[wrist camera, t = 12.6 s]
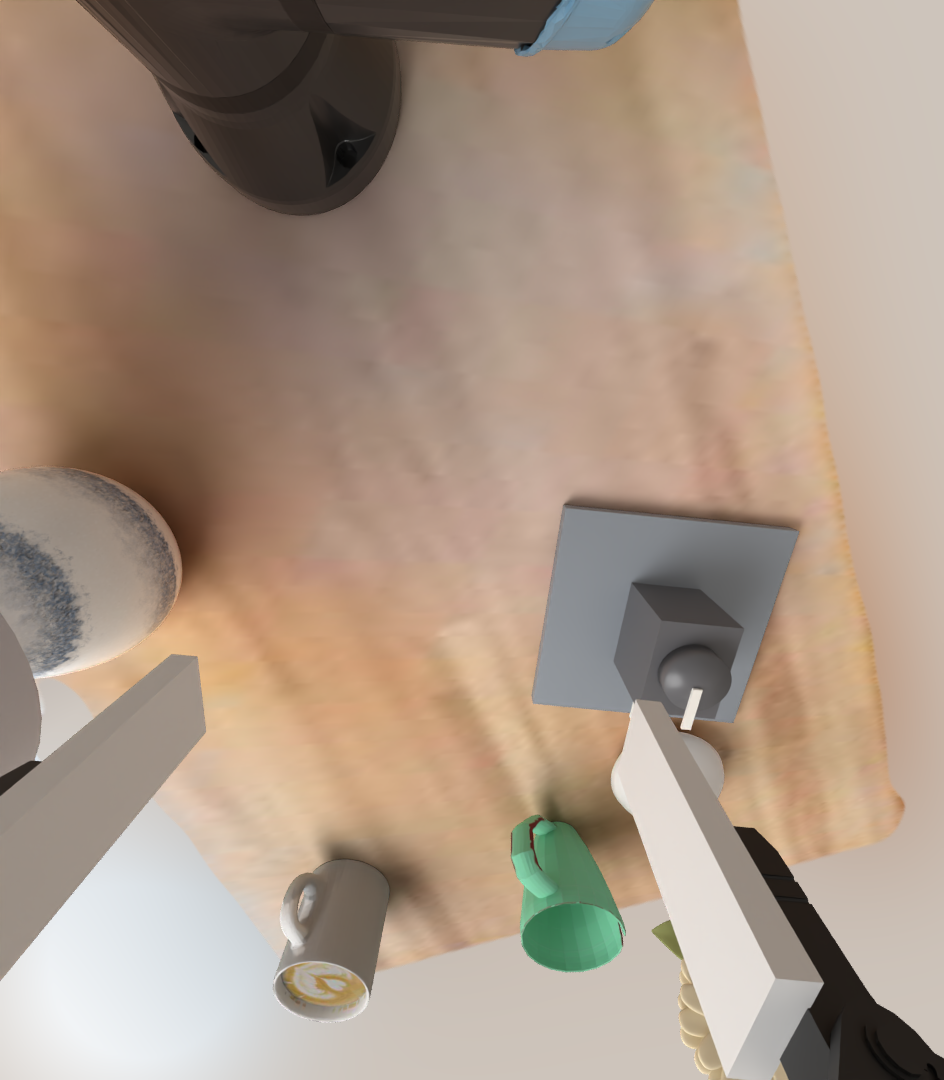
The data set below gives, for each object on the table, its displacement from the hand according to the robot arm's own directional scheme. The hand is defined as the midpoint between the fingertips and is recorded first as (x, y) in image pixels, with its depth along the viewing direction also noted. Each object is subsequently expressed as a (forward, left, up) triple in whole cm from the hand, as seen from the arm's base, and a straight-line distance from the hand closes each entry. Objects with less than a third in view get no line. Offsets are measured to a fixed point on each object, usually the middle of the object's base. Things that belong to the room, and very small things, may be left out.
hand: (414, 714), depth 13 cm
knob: (+9, +19, -26) cm, 33 cm away
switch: (+9, +19, -27) cm, 34 cm away
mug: (+36, +13, -27) cm, 47 cm away
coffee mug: (+48, -10, -27) cm, 56 cm away
